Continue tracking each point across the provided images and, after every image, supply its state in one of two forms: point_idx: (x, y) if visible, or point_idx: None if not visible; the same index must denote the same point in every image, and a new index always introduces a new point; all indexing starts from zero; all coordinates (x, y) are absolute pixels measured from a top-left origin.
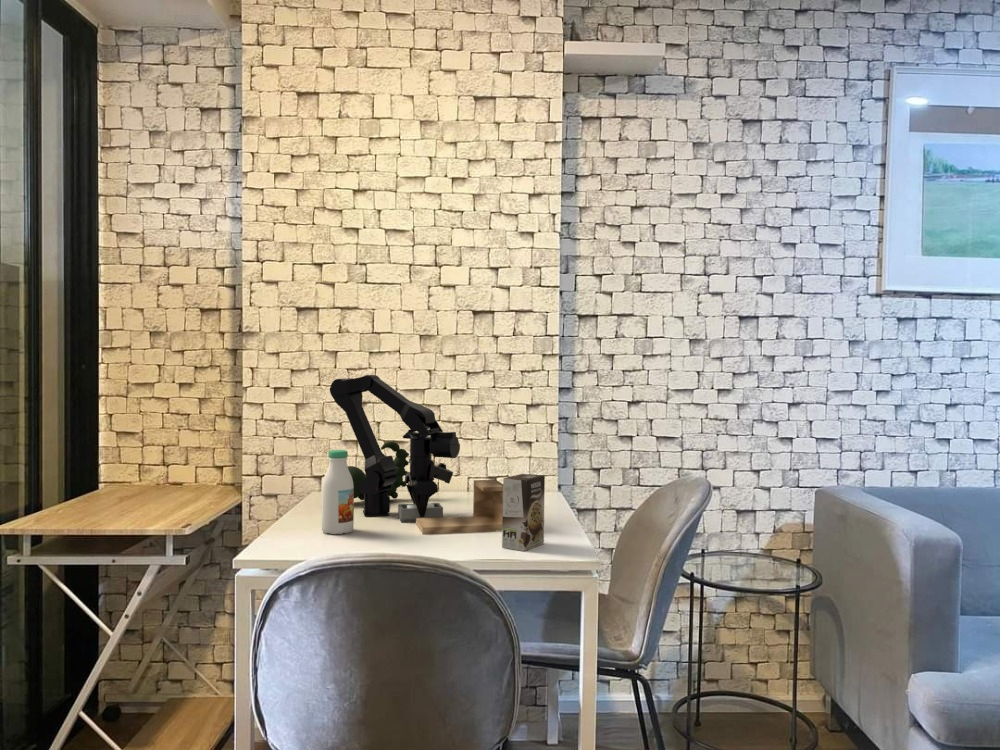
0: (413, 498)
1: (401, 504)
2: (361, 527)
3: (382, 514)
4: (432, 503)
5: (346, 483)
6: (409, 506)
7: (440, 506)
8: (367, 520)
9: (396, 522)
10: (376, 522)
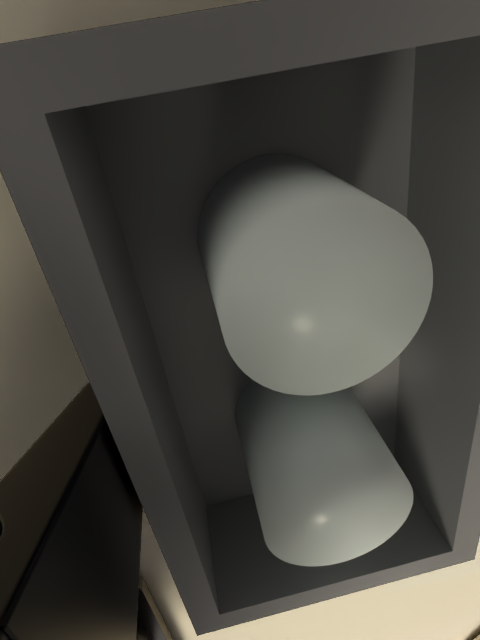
0: (131, 613)
1: (203, 612)
2: (472, 593)
3: (153, 607)
4: (81, 234)
5: None
6: (391, 525)
7: (475, 14)
8: (287, 619)
9: None
10: None
